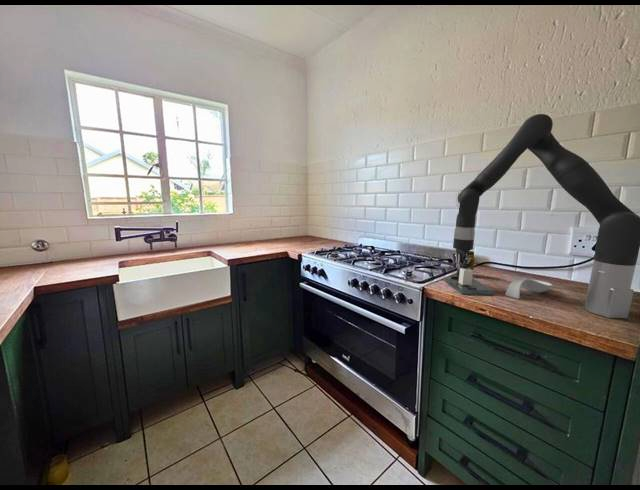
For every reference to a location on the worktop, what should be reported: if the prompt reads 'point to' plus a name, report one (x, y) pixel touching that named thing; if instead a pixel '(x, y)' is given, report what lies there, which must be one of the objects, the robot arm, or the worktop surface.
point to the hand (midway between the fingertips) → (459, 277)
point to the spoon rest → (526, 286)
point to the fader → (465, 276)
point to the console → (469, 287)
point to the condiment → (471, 256)
